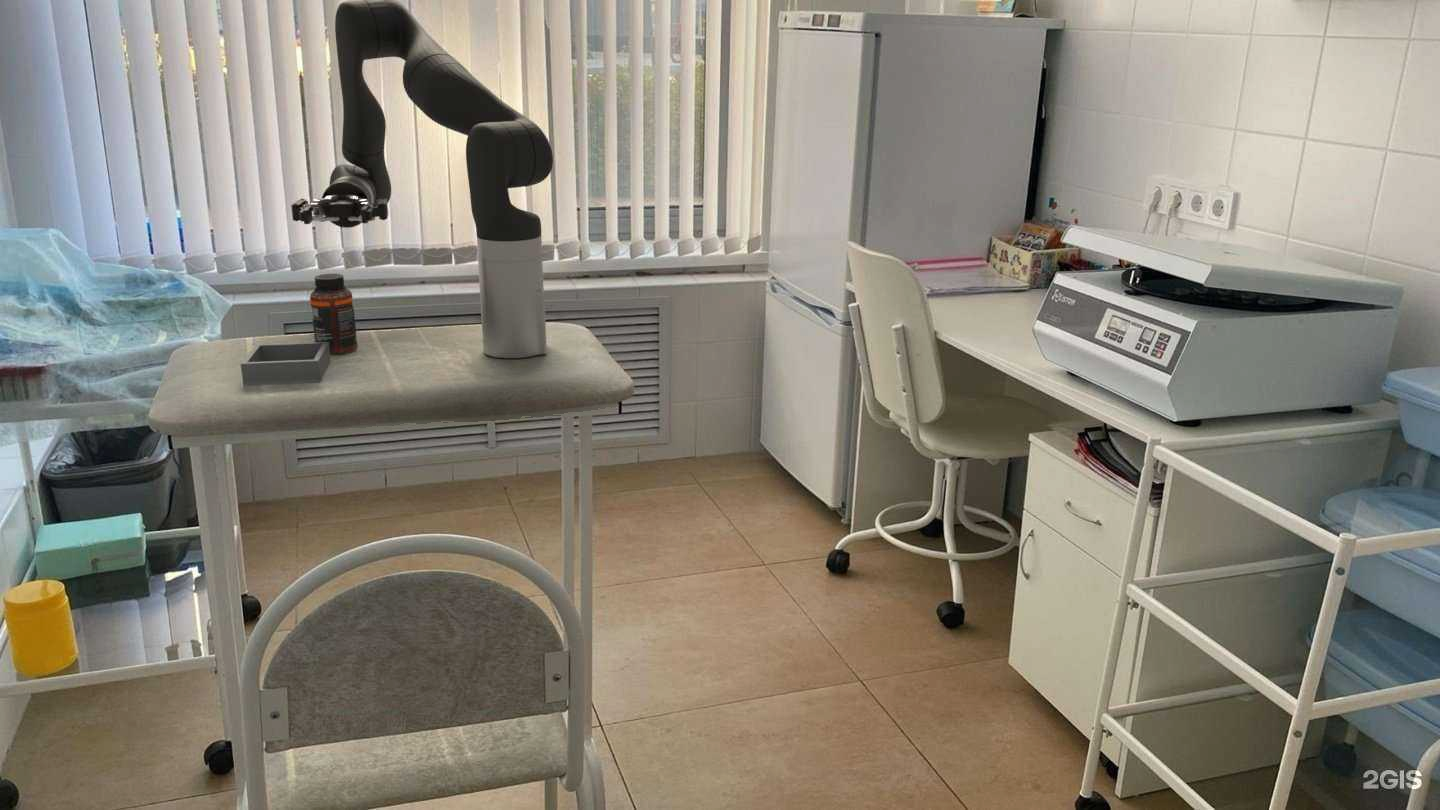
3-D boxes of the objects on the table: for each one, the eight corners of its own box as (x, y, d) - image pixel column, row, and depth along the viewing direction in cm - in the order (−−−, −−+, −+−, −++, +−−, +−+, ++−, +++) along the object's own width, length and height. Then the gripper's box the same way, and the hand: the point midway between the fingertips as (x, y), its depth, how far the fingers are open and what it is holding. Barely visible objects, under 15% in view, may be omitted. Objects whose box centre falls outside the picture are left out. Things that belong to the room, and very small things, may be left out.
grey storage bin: (330, 361, 164) (328, 341, 163) (320, 382, 154) (318, 360, 153) (258, 364, 162) (255, 344, 161) (243, 385, 153) (240, 363, 152)
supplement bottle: (364, 346, 172) (357, 272, 168) (348, 357, 166) (340, 280, 163) (326, 345, 172) (318, 271, 169) (308, 355, 167) (300, 279, 163)
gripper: (301, 178, 187) (283, 192, 172) (391, 177, 189) (381, 191, 174) (306, 224, 189) (288, 242, 174) (394, 222, 191) (385, 240, 176)
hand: (335, 217), depth 174 cm, fingers open, 8 cm apart
